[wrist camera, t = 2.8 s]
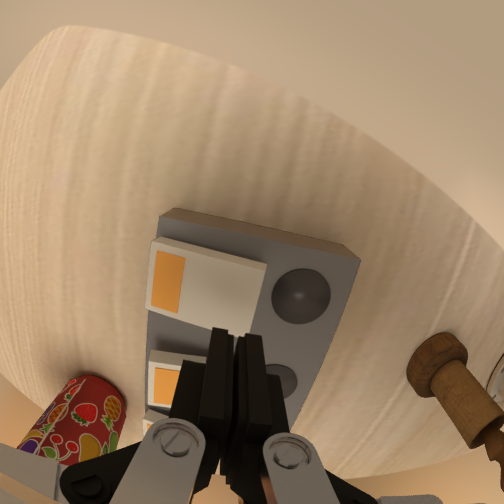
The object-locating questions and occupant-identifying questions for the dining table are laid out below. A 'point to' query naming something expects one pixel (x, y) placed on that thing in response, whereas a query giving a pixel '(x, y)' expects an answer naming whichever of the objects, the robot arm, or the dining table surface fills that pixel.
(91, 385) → the smoothie
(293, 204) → the dining table surface
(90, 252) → the dining table surface
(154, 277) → the block
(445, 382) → the mortar and pestle
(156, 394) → the block
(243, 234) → the power strip
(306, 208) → the dining table surface
